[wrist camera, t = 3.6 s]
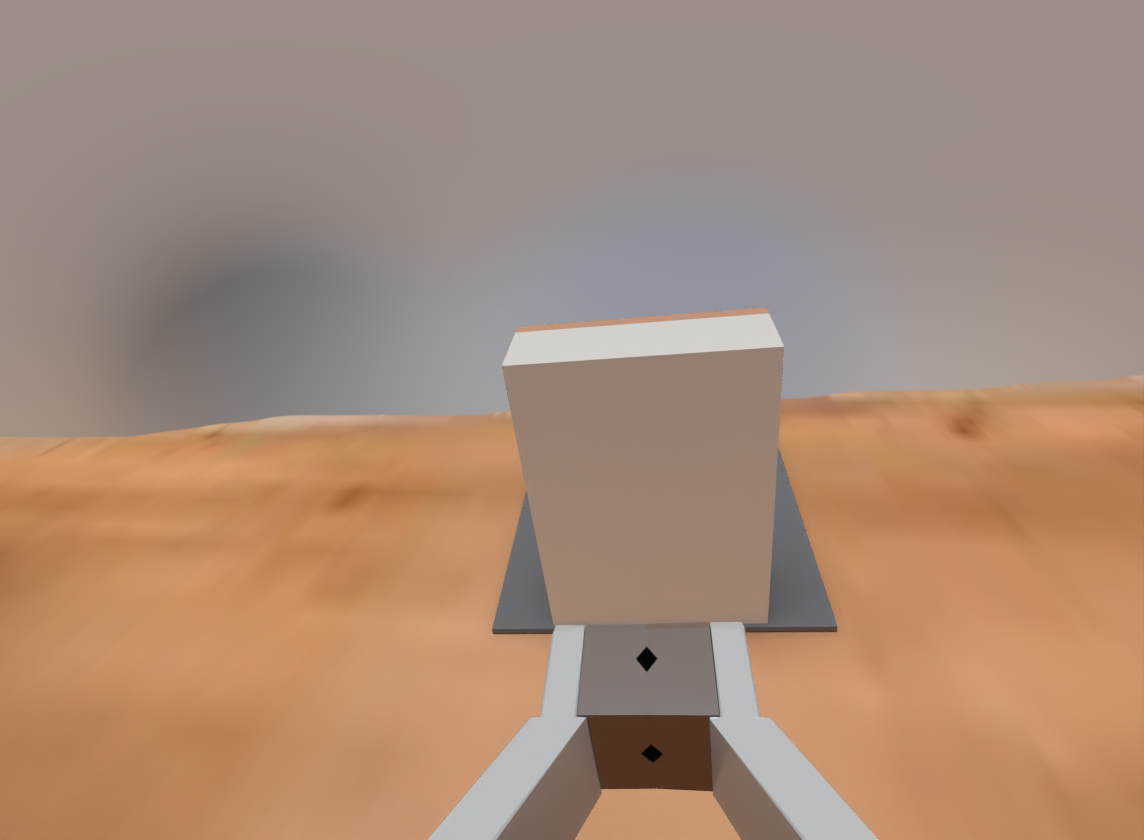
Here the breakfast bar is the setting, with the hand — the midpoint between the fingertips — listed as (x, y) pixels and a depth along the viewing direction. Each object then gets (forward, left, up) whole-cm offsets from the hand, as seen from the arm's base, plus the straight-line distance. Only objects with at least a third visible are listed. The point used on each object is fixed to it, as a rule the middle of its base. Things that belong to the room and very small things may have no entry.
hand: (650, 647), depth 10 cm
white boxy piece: (0, +15, -15) cm, 22 cm away
